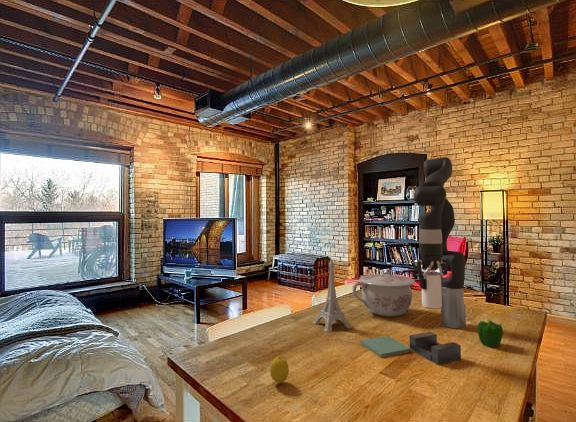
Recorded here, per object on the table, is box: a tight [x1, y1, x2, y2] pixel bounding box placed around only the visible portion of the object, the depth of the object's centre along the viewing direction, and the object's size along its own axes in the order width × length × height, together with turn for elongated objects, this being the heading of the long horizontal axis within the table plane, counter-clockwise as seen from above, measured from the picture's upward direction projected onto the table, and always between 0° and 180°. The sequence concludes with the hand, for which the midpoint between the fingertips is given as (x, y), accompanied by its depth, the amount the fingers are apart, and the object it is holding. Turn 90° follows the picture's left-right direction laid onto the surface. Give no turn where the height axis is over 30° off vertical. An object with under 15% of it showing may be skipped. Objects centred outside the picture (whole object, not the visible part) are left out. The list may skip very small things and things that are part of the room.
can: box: [421, 271, 442, 310], centre depth 114 cm, size 6×6×12 cm
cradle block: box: [409, 331, 462, 366], centre depth 114 cm, size 11×14×5 cm
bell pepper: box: [476, 319, 504, 348], centre depth 122 cm, size 8×8×10 cm
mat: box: [359, 335, 412, 358], centre depth 120 cm, size 13×13×1 cm
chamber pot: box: [351, 271, 416, 318], centre depth 162 cm, size 28×28×21 cm
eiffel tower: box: [312, 258, 353, 333], centre depth 145 cm, size 13×13×30 cm
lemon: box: [269, 356, 290, 385], centre depth 95 cm, size 6×6×8 cm
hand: (431, 288), depth 114 cm, fingers closed on can, 6 cm apart
